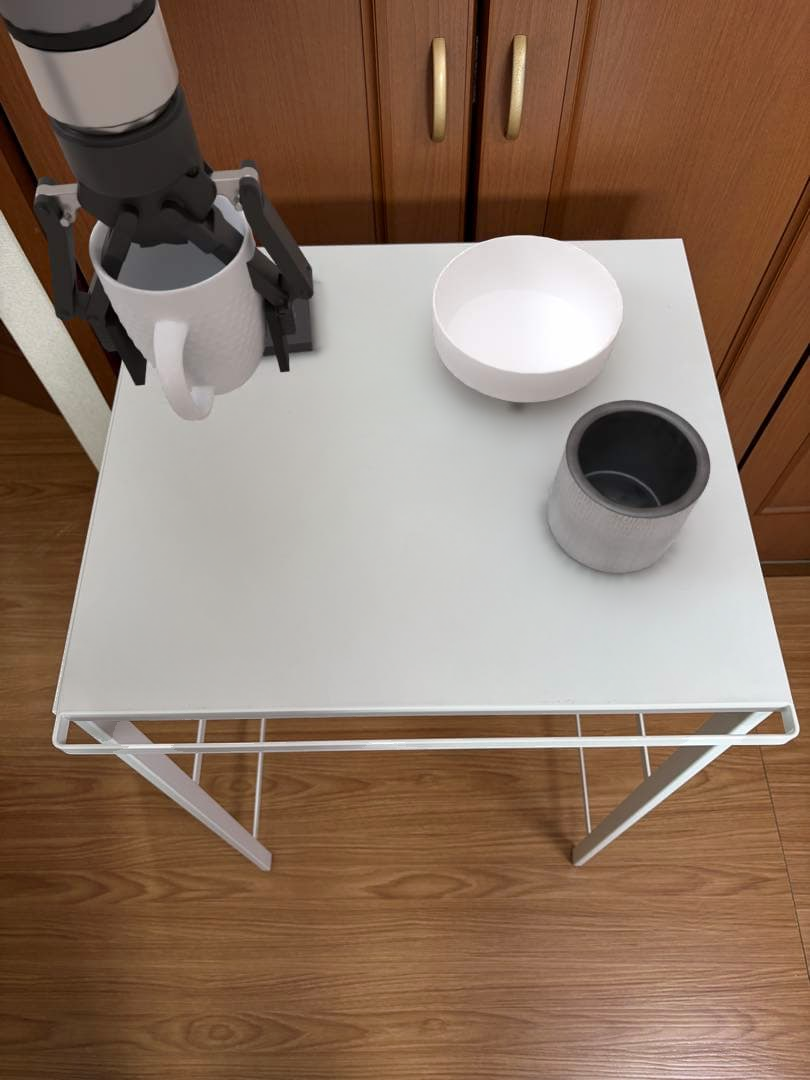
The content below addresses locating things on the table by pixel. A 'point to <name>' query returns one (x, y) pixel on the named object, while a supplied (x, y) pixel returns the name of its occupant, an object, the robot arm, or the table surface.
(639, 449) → the planter
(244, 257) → the mug
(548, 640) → the table surface
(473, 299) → the bowl
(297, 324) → the scale
